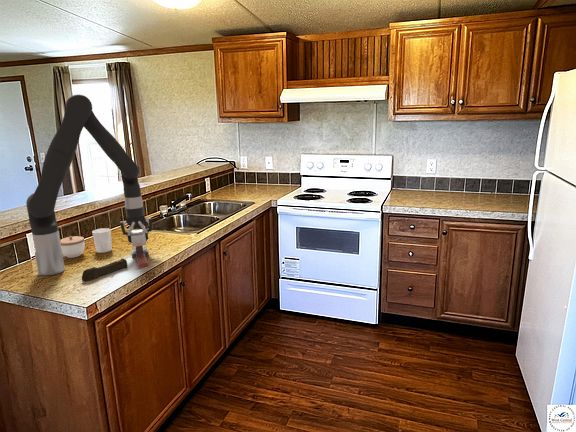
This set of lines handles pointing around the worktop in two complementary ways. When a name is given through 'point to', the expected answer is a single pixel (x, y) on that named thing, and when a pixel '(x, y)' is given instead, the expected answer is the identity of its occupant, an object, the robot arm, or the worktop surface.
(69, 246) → the lidded jar
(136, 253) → the red grey toy vehicle
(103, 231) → the white cup
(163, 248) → the worktop surface
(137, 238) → the white cube
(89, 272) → the hand tool
